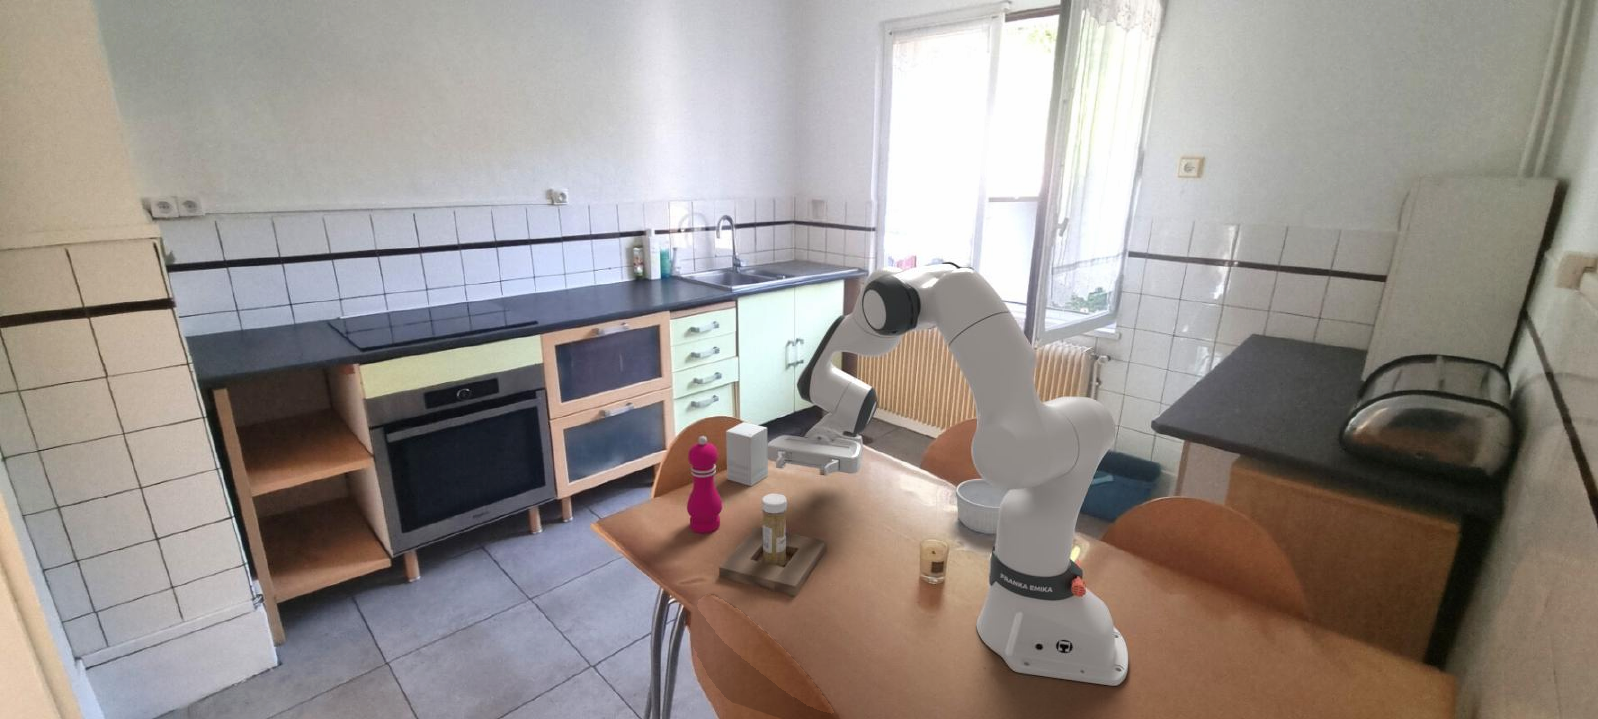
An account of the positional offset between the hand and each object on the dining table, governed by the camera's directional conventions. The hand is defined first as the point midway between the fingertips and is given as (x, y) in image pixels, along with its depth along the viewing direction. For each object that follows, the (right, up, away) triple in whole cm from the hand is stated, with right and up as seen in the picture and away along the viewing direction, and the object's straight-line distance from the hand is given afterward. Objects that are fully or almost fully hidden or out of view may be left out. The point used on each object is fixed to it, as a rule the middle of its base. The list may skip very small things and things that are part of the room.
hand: (800, 468), depth 133 cm
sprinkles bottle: (-5, -17, -6) cm, 19 cm away
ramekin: (+39, -13, +10) cm, 43 cm away
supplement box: (-13, -7, +29) cm, 32 cm away
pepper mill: (-20, -13, +7) cm, 25 cm away
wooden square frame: (-5, -17, -7) cm, 19 cm away
